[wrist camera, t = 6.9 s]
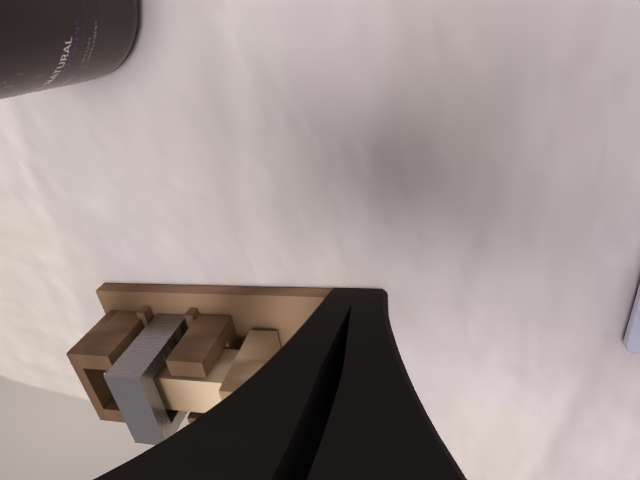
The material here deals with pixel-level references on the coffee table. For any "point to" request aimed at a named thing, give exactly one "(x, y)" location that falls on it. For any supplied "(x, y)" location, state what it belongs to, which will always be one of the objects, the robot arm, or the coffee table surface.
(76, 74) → the supplement bottle
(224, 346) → the jig
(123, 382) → the collar
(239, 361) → the shaft
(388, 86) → the coffee table surface
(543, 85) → the coffee table surface
